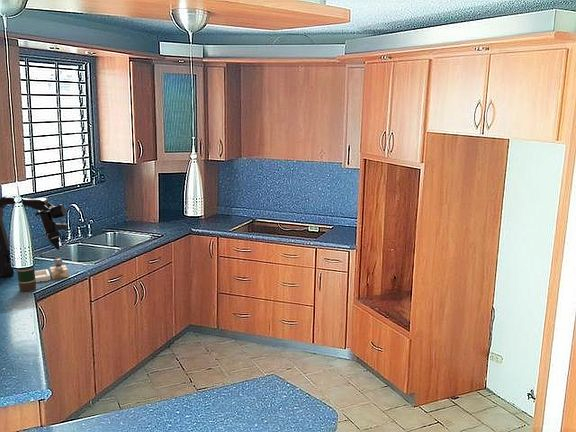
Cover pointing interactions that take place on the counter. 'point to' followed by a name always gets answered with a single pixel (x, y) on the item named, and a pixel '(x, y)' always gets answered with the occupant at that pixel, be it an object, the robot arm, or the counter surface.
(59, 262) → the steel pin
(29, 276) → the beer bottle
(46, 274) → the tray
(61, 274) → the hitch block
